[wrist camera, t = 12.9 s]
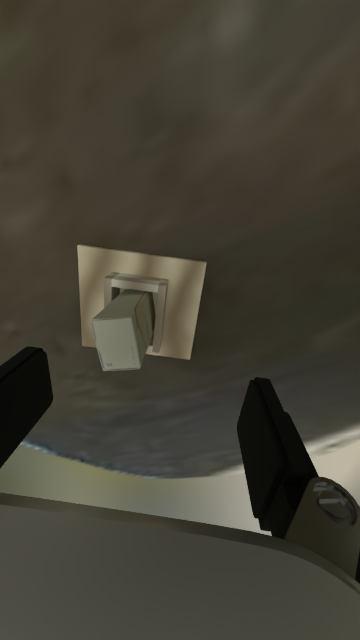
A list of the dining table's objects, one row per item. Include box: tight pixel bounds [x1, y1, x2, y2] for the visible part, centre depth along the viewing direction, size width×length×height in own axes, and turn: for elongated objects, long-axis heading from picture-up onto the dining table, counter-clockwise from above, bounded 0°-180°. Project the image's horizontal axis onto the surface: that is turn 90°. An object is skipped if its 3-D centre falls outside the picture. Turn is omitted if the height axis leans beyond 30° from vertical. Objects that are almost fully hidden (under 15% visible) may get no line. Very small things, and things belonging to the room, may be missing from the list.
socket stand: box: [77, 245, 206, 360], centre depth 33 cm, size 18×16×5 cm
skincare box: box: [91, 289, 155, 371], centre depth 29 cm, size 6×4×12 cm
